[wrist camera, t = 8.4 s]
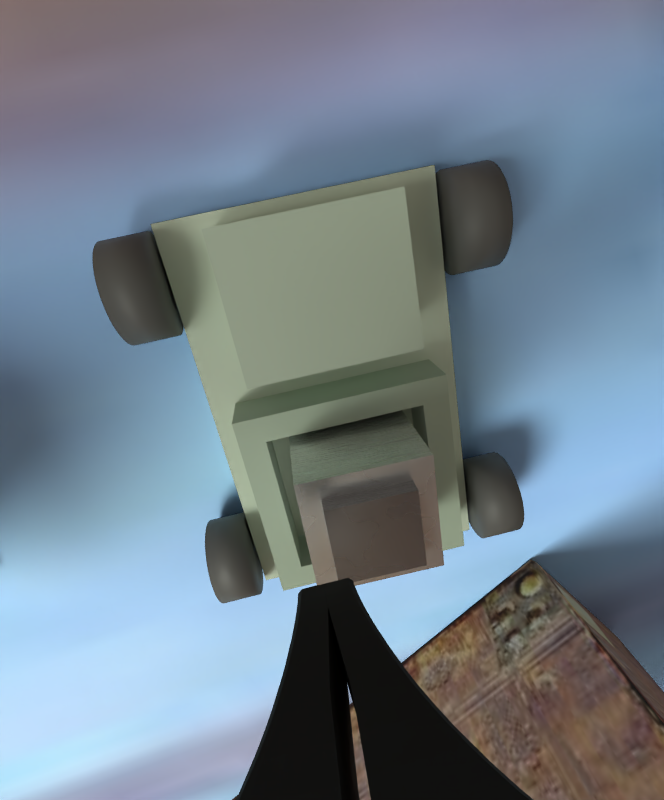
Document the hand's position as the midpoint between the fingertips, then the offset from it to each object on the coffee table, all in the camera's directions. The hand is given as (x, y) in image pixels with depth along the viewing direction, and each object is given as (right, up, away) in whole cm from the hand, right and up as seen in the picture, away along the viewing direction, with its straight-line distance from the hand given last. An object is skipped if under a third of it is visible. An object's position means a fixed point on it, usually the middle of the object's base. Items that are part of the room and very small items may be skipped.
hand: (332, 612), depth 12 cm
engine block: (+1, +3, +8) cm, 9 cm away
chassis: (0, +6, +8) cm, 10 cm away
